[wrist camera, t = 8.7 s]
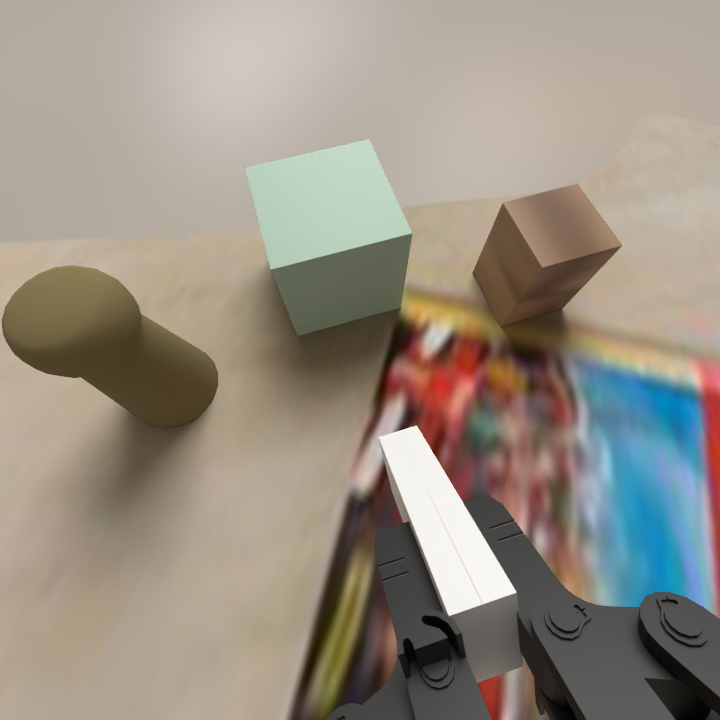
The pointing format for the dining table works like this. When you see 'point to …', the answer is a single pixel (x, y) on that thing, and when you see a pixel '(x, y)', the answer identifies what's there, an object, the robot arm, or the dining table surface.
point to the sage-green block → (332, 235)
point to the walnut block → (542, 253)
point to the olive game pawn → (108, 345)
